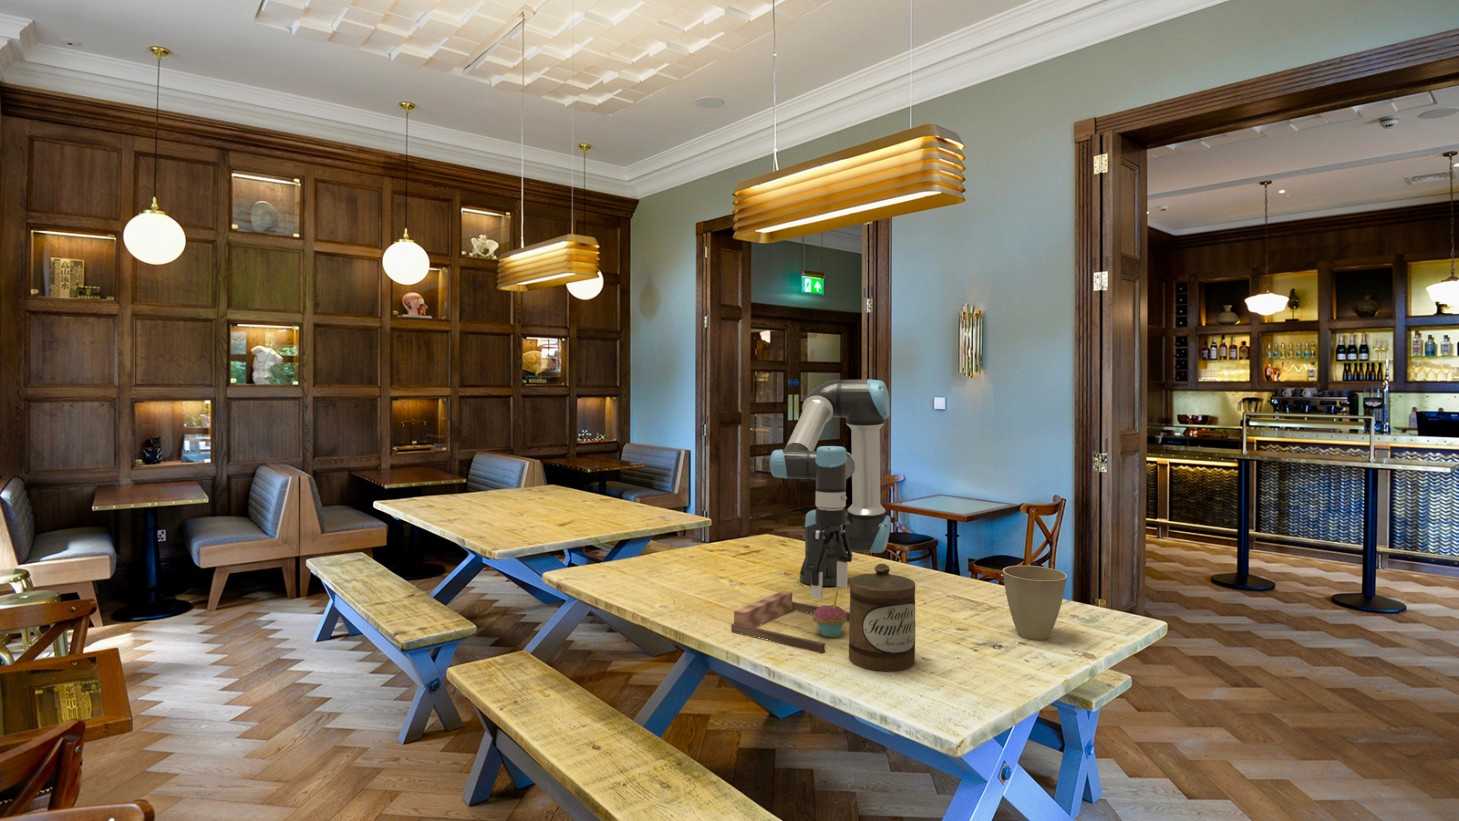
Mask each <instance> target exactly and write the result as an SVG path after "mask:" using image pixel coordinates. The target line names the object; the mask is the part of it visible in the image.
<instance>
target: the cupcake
mask: <svg viewBox="0 0 1459 821" xmlns="http://www.w3.org/2000/svg"><path fill="white" fill-rule="evenodd" d="M838 595H839V587H837V588H836V590H835V593H834V599H833V604H830V605H826V604H825V605H821V606H818V607H819V608H817V609H816V610H815V611H814V614H812V616H813V617H812V618H813V621H814V622H816V624H817V627H818V629H819V632H820V634H822V635H821V636H823V635H824V637H827V638H828V637H829V638H835V636H836V637H839V636H840V635H841V631H842V629H843V625H844V624H845V623H846V622H847V621H846V620H847V617H848V615H847V613H845V612H846V611H845V610H844V609H842V608H841V607H840V606H837V601H838V597H839V596H838Z"/></svg>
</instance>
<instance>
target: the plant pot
mask: <svg viewBox="0 0 1459 821" xmlns="http://www.w3.org/2000/svg"><path fill="white" fill-rule="evenodd" d="M1002 575H1003V576H1002V577H1003V584H1004V591H1005V595H1006V599H1007V604H1008V609H1009V612H1010V615H1011V617H1012V621H1013V624H1014V628H1015V630H1016V632H1017V635H1019V636H1020V637H1022V638H1024V639H1027V640H1034V641H1042V640H1048V639H1049V638H1050V636H1051V634H1052V632H1053V629H1054V627H1055V625H1056V622H1057V619H1058V616H1059V612H1060V610H1061V607H1062V603H1063V599H1064V595H1065V589H1066V586H1067V578H1068V575H1067V574H1066V573H1065V572H1064V571H1061V570H1058V569H1054V568H1050V567H1045V566H1037V565H1011V566H1007V567H1004V568H1003V569H1002Z"/></svg>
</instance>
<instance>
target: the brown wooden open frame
mask: <svg viewBox="0 0 1459 821" xmlns="http://www.w3.org/2000/svg"><path fill="white" fill-rule="evenodd" d="M819 607H820V606H817V605H811V604H806V603H800V602H796V601H793V592H792V591H788V590H781V591H779V592H777V593H775V594H772V595H770V596H769V595H768V596H767V597H765V598H763V599H760V600H757V601H755V602H753V603H750V604H748V605H746V606H743V607H741V608H739V609H736V610H734V611H733V623H731V624H730V626H731V627H730V628H731V630H730V631H733V632H732V633H734V632H738V633H742V634H746V635H745V636H747V635H750V636H749V637H751V636H755V637H760V638H764V639H768V640H771V641H770V642H773V641H774V642H773V643H777V642H778V643H777V644H781V645H786V646H791V647H794V646H795V647H794V648H798V647H799V648H798V649H804V650H807V651H812V652H816V653H821V654H824V653H826V649H825V648H826V644H825V642H822V641H816V640H812V639H807V638H803V637H799V636H794V635H790V634H785V633H781V632H776V631H773V630H768V629H763V628H759V627H760V626H761V625H760V624H762V625H764V624H766V623H768V622H770V621H772V620H774V618H775V619H777V618H779V617H781V616H783V615H785V614H787V613H789V612H791V610H792V611H794V610H798V611H797V612H799V611H802V612H801V613H804V612H808V613H807V614H809V613H812V614H811V615H813V614H814V611H815V610H816V609H817V608H819ZM845 613H847V615H848V617H847V620H846V622H849V616H850V612H848V611H845ZM778 616H779V617H778ZM776 617H777V618H776ZM769 620H770V621H769ZM767 621H768V622H767ZM765 622H766V623H765ZM763 623H764V624H763ZM759 625H760V626H759ZM756 626H757V627H756ZM738 633H737V634H738ZM742 634H741V635H742ZM755 637H754V638H755ZM760 638H759V639H760ZM764 639H763V640H764ZM768 640H767V641H768Z"/></svg>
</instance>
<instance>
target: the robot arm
mask: <svg viewBox="0 0 1459 821" xmlns="http://www.w3.org/2000/svg"><path fill="white" fill-rule="evenodd" d="M890 402H891V401H890V396H889V390H888V388H887V384H886V383H885V382H884V381H883V380H881V379H880V380H879V379H871V378H870V379H869V378H868V379H832V380H828V381H826V382H824V383H821V384H820V385H819V386H817V387H816V388H814V389H813V390H812V391H811V392H809V394H808V395H807V396H806V397H805V399H804V401H803V403H802V407H801V410H802V411H801V412H802V413H801V415H800V417H799V419H798V421H797V423H796V425H795V427H794V429H793V432H792V434H791V435H790V437H789V440H788V441H787V444H786V446H785V447H784V449H775V450H773V451H772V452H771V455H770V459H769V469H770V472H771V475H772V476H773V477H774V478H780V479H781V478H782V479H794V480H795V479H796V480H797V479H798V480H799V479H801V480H815V507H816V509H812V510H810V511H808V512H807V513H806V514H805V522H804V524H805V525H804V532H805V533H804V541H805V542H804V547H805V548H804V550H805V551H804V553H805V554H804V560H803V563H802V565H801V569H800V571H799V582H800V581H801V582H800V583H802V582H803V583H802V584H804V583H805V584H804V585H807V584H810V585H809V586H810V598H811V599H817V600H823V587H822V586H834V587H837V588H842V589H847V588H848V586H849V585H848V573H849V571H848V569H849V567H848V566H849V563H852V560H853V552H858V553H859V552H861V553H869V554H871V553H874V554H875V553H876V554H880V553H883V552H884V551H886V549H887V546H888V542H889V537H890V532H891V522H892V521H891V520H892V518H891V516H890V515H888V514H887V515H886V508H884V506H882V503H881V458H880V457H881V449H880V448H881V444H880V443H881V441H880V439H881V437H880V436H881V433H880V429H881V428H882V427H883V426H884V425H885V420H887V419H888V418H889V417H890V416H891V406H890ZM832 418H845V419H846V423H845V424H846V425H847V426H848V427H849V428H850V430H851V453H850V452H848V451H847V449H846V448H845V447H844V446H837V445H830V446H829V445H824V446H823V445H822V446H819V447H817V446H816V445H817V443H818V442H819V439H820V437H821V434H822V432H823V430H824V427H825V425H826V423H828V422H829V421H831V419H832ZM816 447H817V448H816ZM815 448H816V450H815ZM849 478H851V485H852V486H851V488H852V489H851V490H852V493H851V494H852V497H851V498H852V500H851V501H852V504H851V505H850V506H849V507H848V508H847V511H846V508H845V507H846V505H847V502H846V500H847V499H848V497H847V496H846V495H847V493H846V492H847V487H846V485H847V480H848V479H849Z"/></svg>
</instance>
